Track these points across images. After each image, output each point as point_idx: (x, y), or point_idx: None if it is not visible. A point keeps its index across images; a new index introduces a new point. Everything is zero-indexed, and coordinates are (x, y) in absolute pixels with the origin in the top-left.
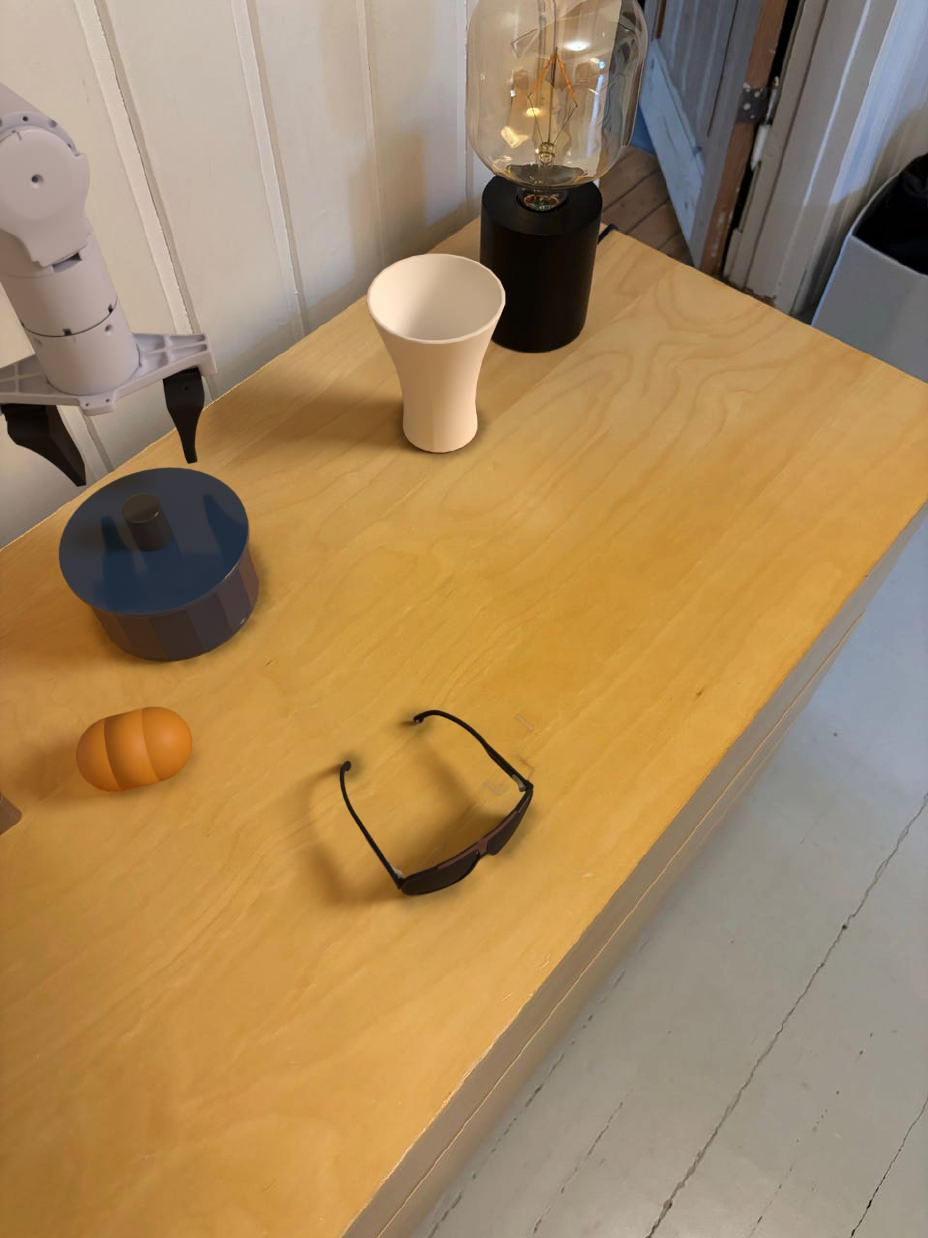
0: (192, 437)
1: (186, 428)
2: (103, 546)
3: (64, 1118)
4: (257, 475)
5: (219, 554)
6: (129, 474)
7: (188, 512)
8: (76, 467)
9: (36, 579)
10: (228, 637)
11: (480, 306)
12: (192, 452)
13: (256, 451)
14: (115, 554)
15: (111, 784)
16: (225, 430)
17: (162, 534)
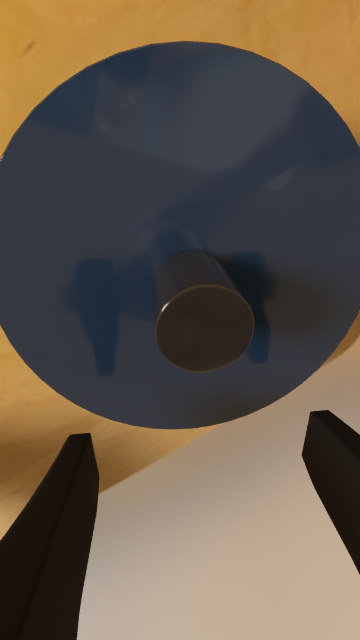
0: (21, 519)
1: (10, 569)
2: (288, 284)
3: None
4: (62, 402)
5: (44, 203)
6: (218, 423)
7: (118, 331)
8: (341, 457)
9: None
10: None
11: None
12: (57, 463)
13: (64, 433)
14: (270, 259)
15: None
16: (102, 462)
17: (167, 271)
